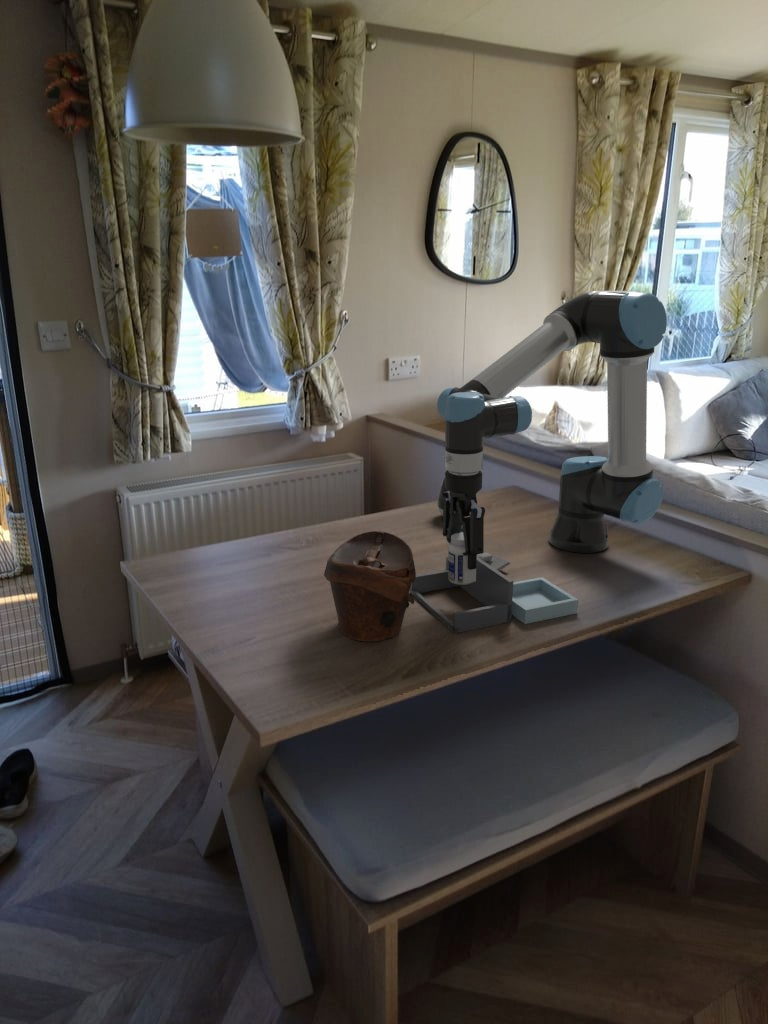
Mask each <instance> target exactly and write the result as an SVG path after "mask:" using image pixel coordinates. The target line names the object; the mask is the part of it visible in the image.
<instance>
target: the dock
mask: <svg viewBox="0 0 768 1024" xmlns="http://www.w3.org/2000/svg"><path fill="white" fill-rule="evenodd" d="M476 563H477V565H476V582H472V583H470V584H467V585H458V584H454V583H452V582H450V581H449V579H448V570H446V569H445V570H438V571H433V572H427V573H422V574H420V573H419V574H416V578H415V581H414V582H413V583H412V582H411V587H410V591H409V594H410V595H412V596H413V598H414V599H416V600H417V601H418V602H419V603H421V604H422V605H423V606H424V607H425V608H426V609H427V610H428V611H429V612H431V613H432V614H433V615H434V616H435V618H437V619H438V620H440V621H441V622H442V624H444V625H445V626H446V627H448V629H450V630H451V631H452V632H453V633H455V634H456V633H462V632H466V631H472V630H473V631H474V630H477V629H481V628H486V627H492V626H497V625H501V624H506V623H510V622H512V598H513V582H515V581H514V580H513V579H511V578H510V577H508V576H506V575H505V574H504V573H503V572H501V571H498V570H496V569H495V568H493V567H492V566H490V565H489V564H487V563H486V562H484V561H483V560H481V559H480V558H478V557H477V562H476ZM455 587H460V588H461V589H462V590H464V591H465V592H467V593H468V594H469V595H470V596H472V597H473V598H474V599H476V600H477V601H478V602H480V604H482V605H484V606H482V607H476V608H471V609H466V610H459V611H455V612H453V613H452V620H451V619H449V618H448V617H447V616H446V615H445V614H443V613H442V612H441V610H439V609H438V608H436V606H434V605H433V604H432V603H431V602H430V601H428V600H427V598H426V597H424V596H423V595H422V594H423V593H427V592H434V591H438V590H444V589H450V588H455Z"/></svg>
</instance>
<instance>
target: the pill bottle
mask: <svg viewBox="0 0 768 1024" xmlns="http://www.w3.org/2000/svg"><path fill="white" fill-rule="evenodd" d="M451 543H452V544H451V545H450V546H449V549H448V548H447V551H448V552H447V553H448V554H447V555H448V556H447V557H448V579H449V581H450V582H452V583H454V584H458V585H467V584H470V583H466V584H464V583H463V553H464V552H466V551H465V543H464V535H463V533H456V534H453V535H452V536H451ZM471 583H472V582H471Z"/></svg>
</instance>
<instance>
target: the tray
mask: <svg viewBox="0 0 768 1024" xmlns="http://www.w3.org/2000/svg"><path fill="white" fill-rule="evenodd" d="M578 607H579V599H578V598H576V597H575V596H573V595H571V594H570V593H568V592H566V591H565V590H563V589H562V588H561V587H559V586H558V585H555V584H554V583H553V582H550V581H549V580H547V579H546V578H544V577H543V576H541V577H536V578H530V579H525V580H518V581H514V582H513V598H512V614H511V616H513V617H514V618H516V619H517V620H519V621H520V622H521V623H523V624H524V625H526V624H527V625H528V624H532V623H536V622H540V621H546V620H551V619H556V618H561V617H565V616H571V615H575V614H578Z"/></svg>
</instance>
